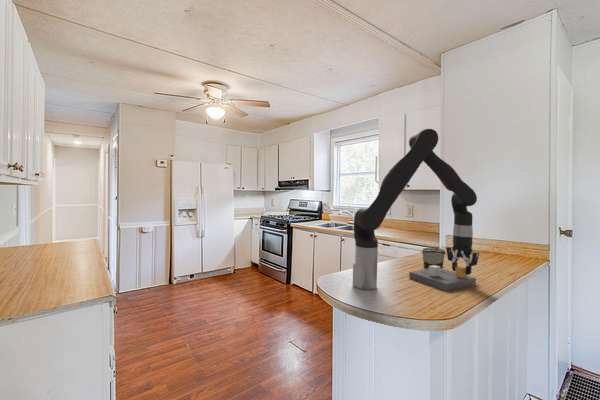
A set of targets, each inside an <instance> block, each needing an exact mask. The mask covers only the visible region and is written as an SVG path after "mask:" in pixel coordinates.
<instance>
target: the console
mask: <svg viewBox="0 0 600 400" xmlns="http://www.w3.org/2000/svg"><path fill="white" fill-rule="evenodd" d="M408 276H409V279H411V280H413V281H417V282H420V283H422V284H426V285H428V286H430V287H434V288H437V289H440V290H443V291H445V292H449V291H454V290H458V289H462V288H466V287H471V286H475V285H476V283H477V277H474V276H470V275H467V277H463V278H461V277H458V276H455V271H453V270H449V269H445V268H443V269H441V273H440V276H435V277H434V276H431V275H429V268H423V269H417V270H413V271H412V270H411V271H409V275H408Z"/></svg>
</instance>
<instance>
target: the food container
mask: <svg viewBox="0 0 600 400" xmlns="http://www.w3.org/2000/svg"><path fill="white" fill-rule="evenodd" d="M421 254H422V259H423V261H422V262H423V269H429V266H432V265H436V266H440V267H441V269H444V268H443V267H444V260H445V255H447V251H446V250H445V249H441V248H435V247H434V248H433V247H424V248H422V250H421Z"/></svg>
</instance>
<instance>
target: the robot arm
mask: <svg viewBox="0 0 600 400" xmlns="http://www.w3.org/2000/svg"><path fill="white" fill-rule="evenodd" d="M438 142H439V135H438V132H437V131H436V130H435V129H433V128H425V129H422V130H420V131H417V132H415V133H413V134H412V135H410V137H409V140H408V146H409V148H410V149H409V151H408V152H407V153H406V154H405V155H404V156H403V157H402V158H400V159H399V160H398V161H397V162H396V163H395V164H394V165H393V166H392V167H391V168H390V170H389V171H388V172H387V173H386V175H385V176H384V178H383V179H382V181H381V184H380V188H379V191H378V194H377V196H376V198H375V199H374V201H372V203H371V204H370V205H369V206H368V208H367V207H362V208H359V209H358V210H357V211H356V212H355V214H354V219H353V236H354V237H353V238H354V241H355V246H354V247H355V251H354V254H355V255H354V259H355V260H354V262H353V264H352V286H354V287H355V288H357V289H359V290H361V291H362V290H368V291H369V290H370V291H371V290H375V289H376V288H377V287H378V285H377V284H378V253H379V251H378V250H379V242H378V239H377V237H376V234H375V231H376V230H378V228H380V226H381V225H382V223H383V222H384V220H385V218H386V216H387V214H388V213H389V211H390V209H391V208H392V206H393V204H394V203H395V202H396V200H397V199H398V198H399V196H400V195H401V193H402V192H403V191H404V189H405V188H406V186H407V185H408V184H409V183H410V181H411V179H412V178H413V176H414V175H415V173H416V172H417V171H418V169H419V168H420V166H421V164H422V163H424V164H425V165H426V166H428V167H429V168H430V169H431V171H432V172H433V173H434V175H436V177H437V178H438V179H439V181H440V182H441V184H442V185H443V186H444V188H445V189H446V190H447V191H450V192H452V195H451V201H450V202H451V207H452V211H453V214H454V217H453V218H454V219H453V228H452V245H453V246H452V247H451V246H448V247H446V250H445V251H446V256H447V260H448V261H450V262H451V270H452V272H455V269H456V267H458V261H459V259H460V258H461V259H463V261H464V262H465V265H466V266H465V267H466V275H467V276H470V275H471V273H472V267H474V266H477V264H478V261H479V257H480V252H478V251H474V250H473V248H472V247H473V238H474V237H473V235H474V232H473V229H474V228H473V213H472V212H470V211H469V210H468V207H472V206H474V205H475V204H476V203H477V202H478V201H477V199H478V197H477V194H476V192H475V190H474V189H472V188H471V187H470V186H469V185H468V184H467V183H466V182H464V181H463V180H462V178H461V177H460V176H459V174H458V173H457V171H456V170H455V169H454V168H453V166H451V165H450V164H448V163H447V162H446V161H444V160H443V159H442V158H440V156H438V155H437V154H436V153H435V152H434V149H435V148H436V147H437V145H438Z"/></svg>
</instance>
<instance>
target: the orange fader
mask: <svg viewBox="0 0 600 400" xmlns="http://www.w3.org/2000/svg"><path fill="white" fill-rule="evenodd" d="M454 272H455V276H458V277H461V278H463V277H467V276H468V275H466V266H462V265H461V266H460V265H459V266H458V265H457V267H456V269H455V271H454Z"/></svg>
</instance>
